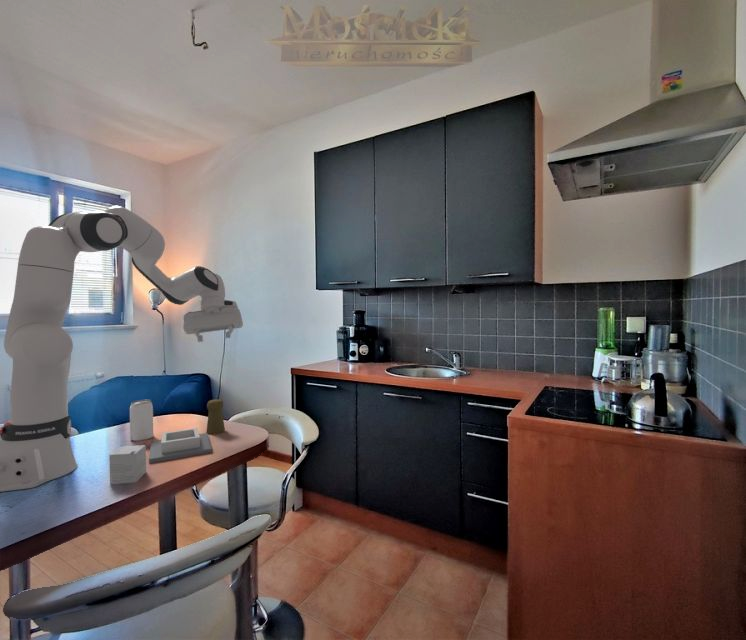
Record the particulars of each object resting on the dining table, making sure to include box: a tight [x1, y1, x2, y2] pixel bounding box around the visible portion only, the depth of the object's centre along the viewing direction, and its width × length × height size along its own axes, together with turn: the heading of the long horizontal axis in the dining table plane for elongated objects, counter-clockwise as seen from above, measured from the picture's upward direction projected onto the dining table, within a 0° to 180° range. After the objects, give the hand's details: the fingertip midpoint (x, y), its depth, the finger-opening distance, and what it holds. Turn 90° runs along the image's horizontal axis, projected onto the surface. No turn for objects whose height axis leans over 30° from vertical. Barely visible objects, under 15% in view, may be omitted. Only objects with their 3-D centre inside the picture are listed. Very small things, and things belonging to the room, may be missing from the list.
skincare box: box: [109, 444, 147, 485], centre depth 95 cm, size 6×6×7 cm
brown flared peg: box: [205, 398, 226, 435], centre depth 130 cm, size 6×6×11 cm
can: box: [129, 399, 154, 442], centre depth 124 cm, size 6×6×12 cm
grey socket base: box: [148, 427, 213, 464], centre depth 115 cm, size 16×16×4 cm
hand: (214, 339), depth 136 cm, fingers open, 8 cm apart
